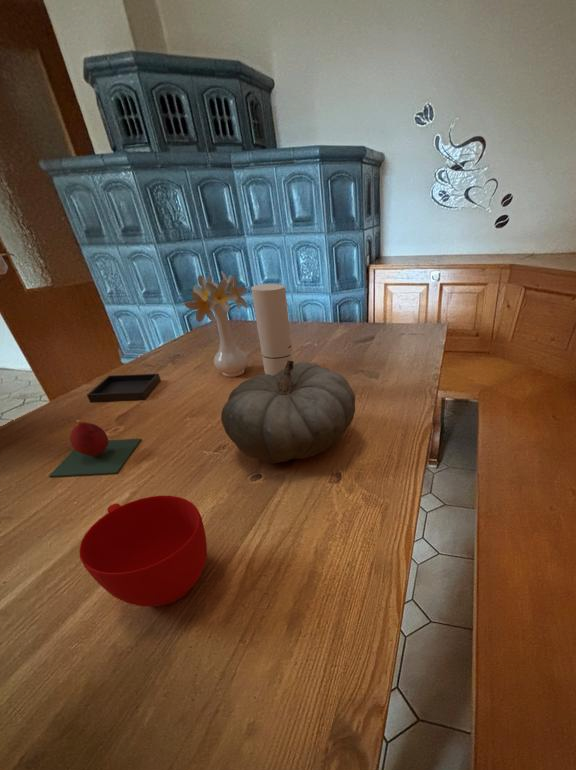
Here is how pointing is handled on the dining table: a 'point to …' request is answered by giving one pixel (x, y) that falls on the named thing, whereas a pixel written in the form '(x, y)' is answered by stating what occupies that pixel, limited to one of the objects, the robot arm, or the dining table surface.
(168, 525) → the ceramic cup
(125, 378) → the tray
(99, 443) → the onion
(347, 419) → the gourd
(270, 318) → the cylindrical container
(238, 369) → the flower vase
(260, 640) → the dining table surface
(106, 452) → the mat
